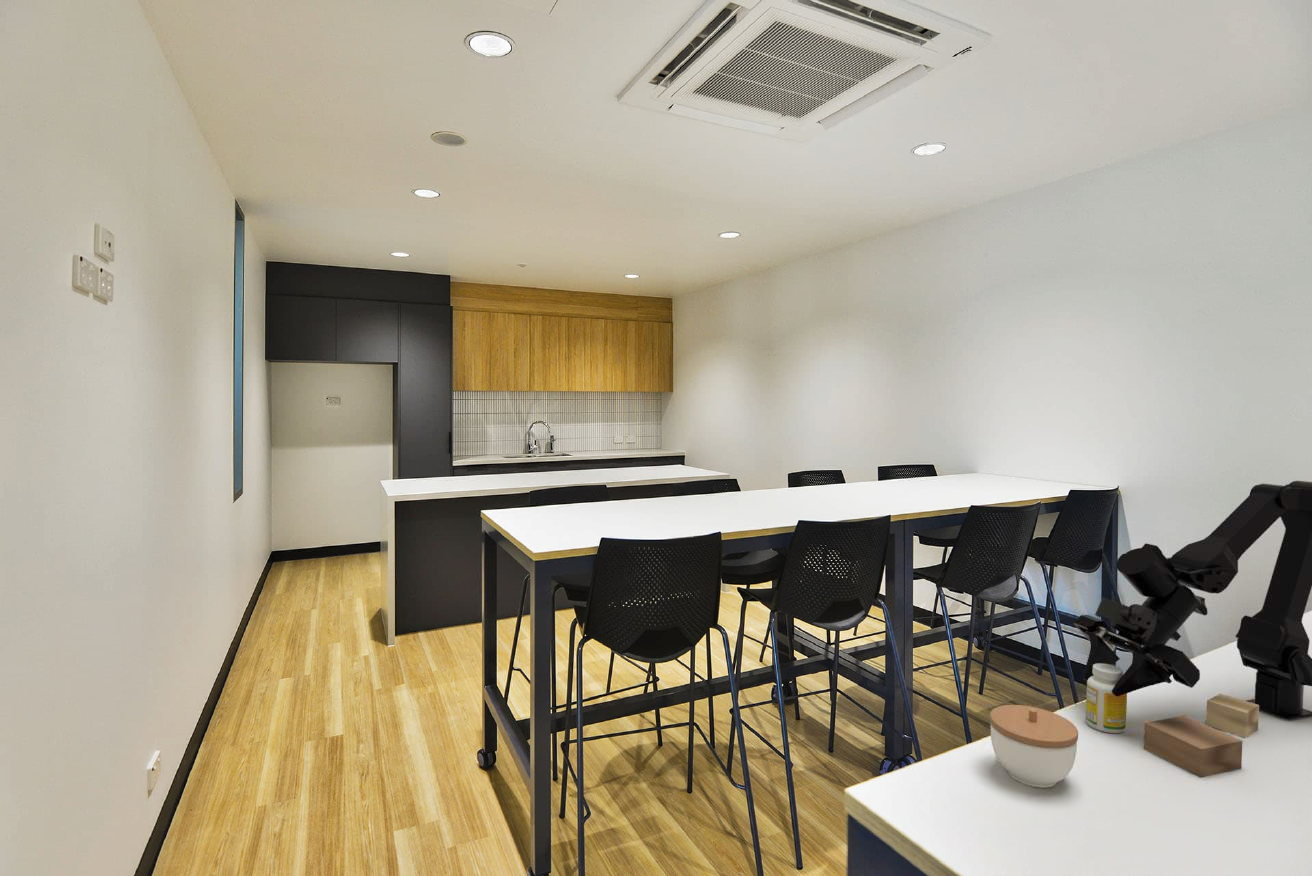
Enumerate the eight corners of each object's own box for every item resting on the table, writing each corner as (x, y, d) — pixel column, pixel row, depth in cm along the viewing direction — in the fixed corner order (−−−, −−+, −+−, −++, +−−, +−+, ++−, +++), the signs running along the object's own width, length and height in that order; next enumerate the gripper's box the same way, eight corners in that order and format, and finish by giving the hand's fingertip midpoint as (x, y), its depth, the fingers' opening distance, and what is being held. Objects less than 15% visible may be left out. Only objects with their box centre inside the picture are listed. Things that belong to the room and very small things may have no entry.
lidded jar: (1026, 802, 86) (1028, 732, 86) (972, 759, 97) (973, 697, 96) (1096, 792, 88) (1098, 724, 88) (1035, 751, 99) (1037, 690, 98)
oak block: (1219, 717, 109) (1220, 693, 109) (1258, 729, 105) (1259, 705, 105) (1206, 724, 107) (1207, 700, 107) (1245, 737, 103) (1246, 712, 102)
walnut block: (1182, 740, 102) (1183, 715, 102) (1241, 768, 94) (1242, 740, 94) (1143, 748, 100) (1144, 722, 99) (1200, 777, 92) (1201, 749, 92)
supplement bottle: (1080, 725, 107) (1082, 666, 106) (1092, 715, 110) (1093, 658, 110) (1119, 737, 103) (1121, 677, 102) (1130, 727, 106) (1132, 668, 106)
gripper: (1084, 568, 115) (1026, 634, 114) (1186, 598, 97) (1118, 678, 96) (1123, 610, 117) (1066, 675, 116) (1230, 648, 98) (1163, 726, 97)
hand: (1099, 686), depth 106 cm, fingers closed on supplement bottle, 5 cm apart
